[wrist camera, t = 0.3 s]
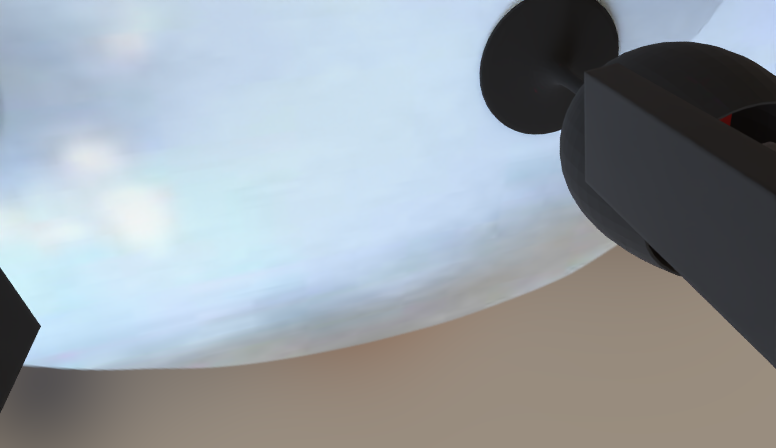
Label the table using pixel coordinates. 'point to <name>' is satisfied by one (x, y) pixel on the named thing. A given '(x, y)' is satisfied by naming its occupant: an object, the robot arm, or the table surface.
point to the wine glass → (598, 49)
